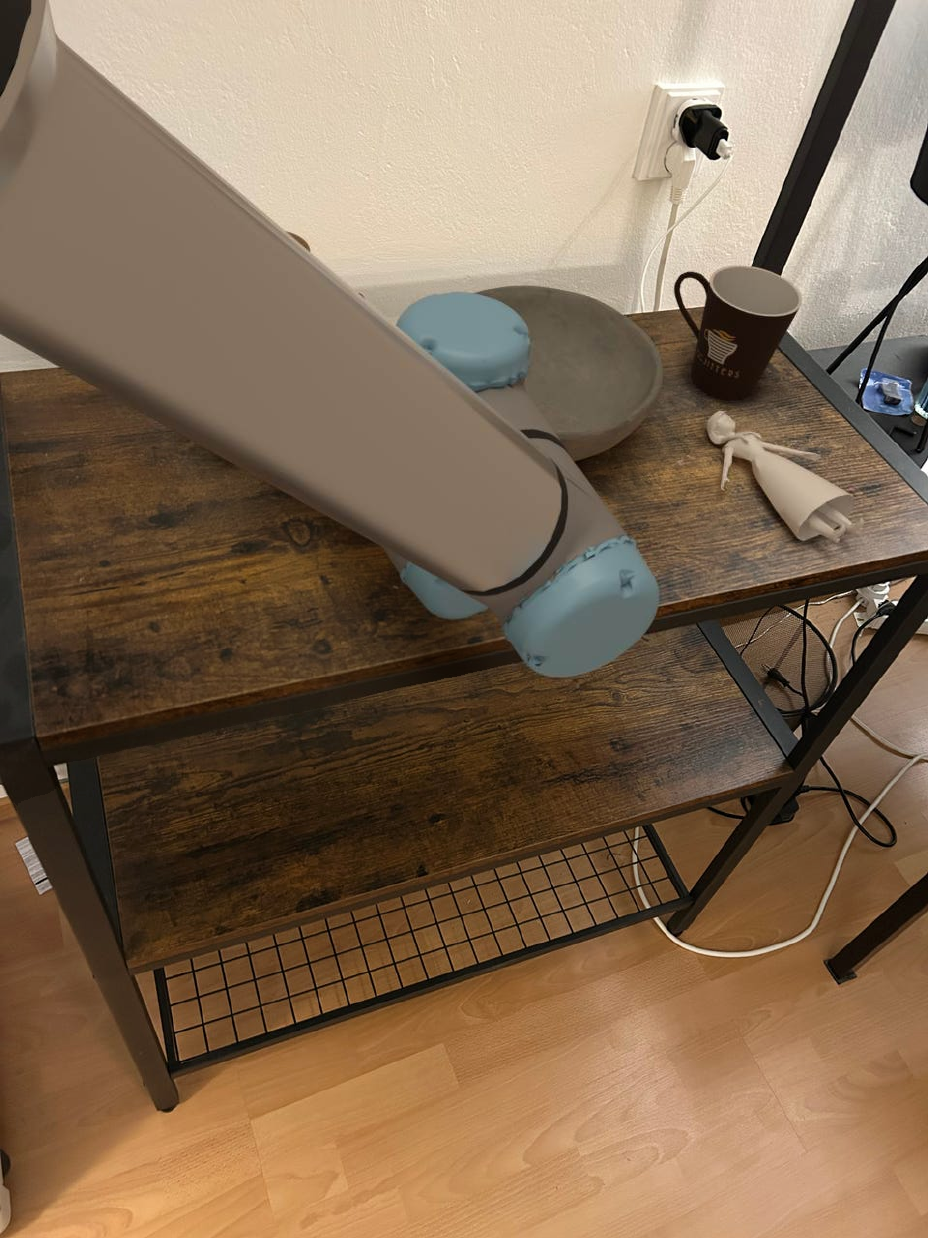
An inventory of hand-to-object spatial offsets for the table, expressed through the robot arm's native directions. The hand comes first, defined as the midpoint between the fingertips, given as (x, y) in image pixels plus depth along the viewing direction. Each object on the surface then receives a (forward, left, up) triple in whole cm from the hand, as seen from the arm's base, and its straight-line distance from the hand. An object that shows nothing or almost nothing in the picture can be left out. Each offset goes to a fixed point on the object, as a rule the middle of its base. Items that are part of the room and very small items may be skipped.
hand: (247, 274), depth 80 cm
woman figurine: (+41, -24, -11) cm, 49 cm away
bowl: (+23, -11, -11) cm, 28 cm away
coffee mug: (+45, -7, -11) cm, 47 cm away
